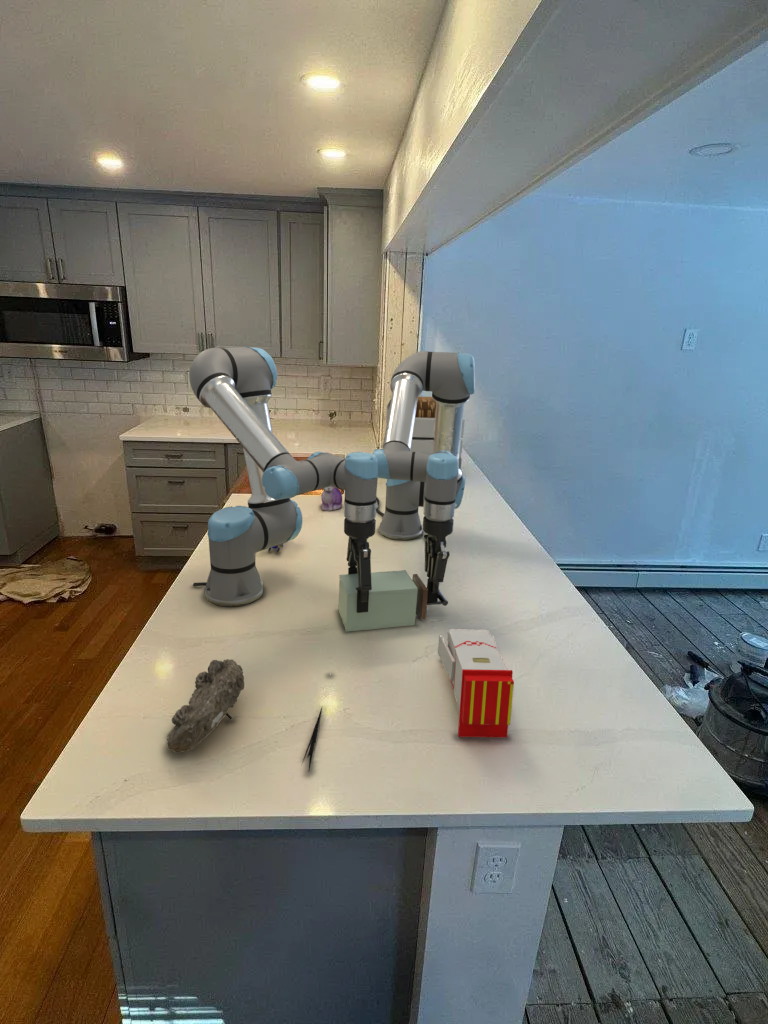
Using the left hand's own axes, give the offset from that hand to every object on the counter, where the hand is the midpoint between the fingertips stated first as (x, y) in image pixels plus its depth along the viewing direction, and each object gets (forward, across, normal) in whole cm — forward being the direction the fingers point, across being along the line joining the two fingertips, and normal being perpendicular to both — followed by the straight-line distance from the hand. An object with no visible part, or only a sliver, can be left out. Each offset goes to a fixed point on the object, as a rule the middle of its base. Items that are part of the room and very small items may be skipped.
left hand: (357, 600), depth 142 cm
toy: (+5, -33, -17) cm, 37 cm away
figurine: (+5, +85, -8) cm, 86 cm away
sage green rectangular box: (+5, 0, -5) cm, 7 cm away
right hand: (+2, 0, -20) cm, 20 cm away
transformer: (+5, +128, -58) cm, 141 cm away
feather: (+5, -35, +15) cm, 38 cm away
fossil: (+5, -30, +34) cm, 46 cm away
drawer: (+4, 0, -12) cm, 12 cm away
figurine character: (+5, +50, +16) cm, 53 cm away
